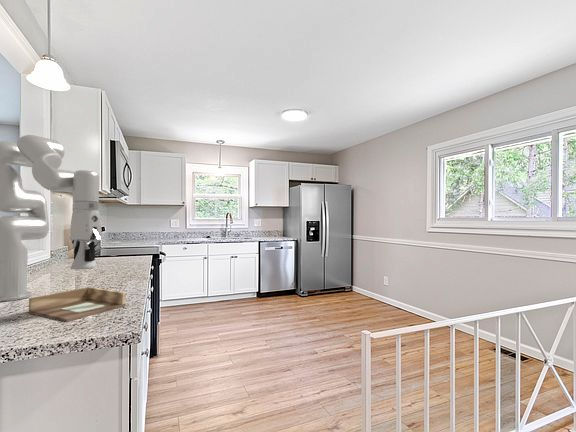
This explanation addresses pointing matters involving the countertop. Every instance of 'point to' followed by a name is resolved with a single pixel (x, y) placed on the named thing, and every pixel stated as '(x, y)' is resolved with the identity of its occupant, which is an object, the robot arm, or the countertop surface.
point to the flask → (82, 258)
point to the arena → (76, 303)
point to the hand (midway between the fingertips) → (84, 259)
